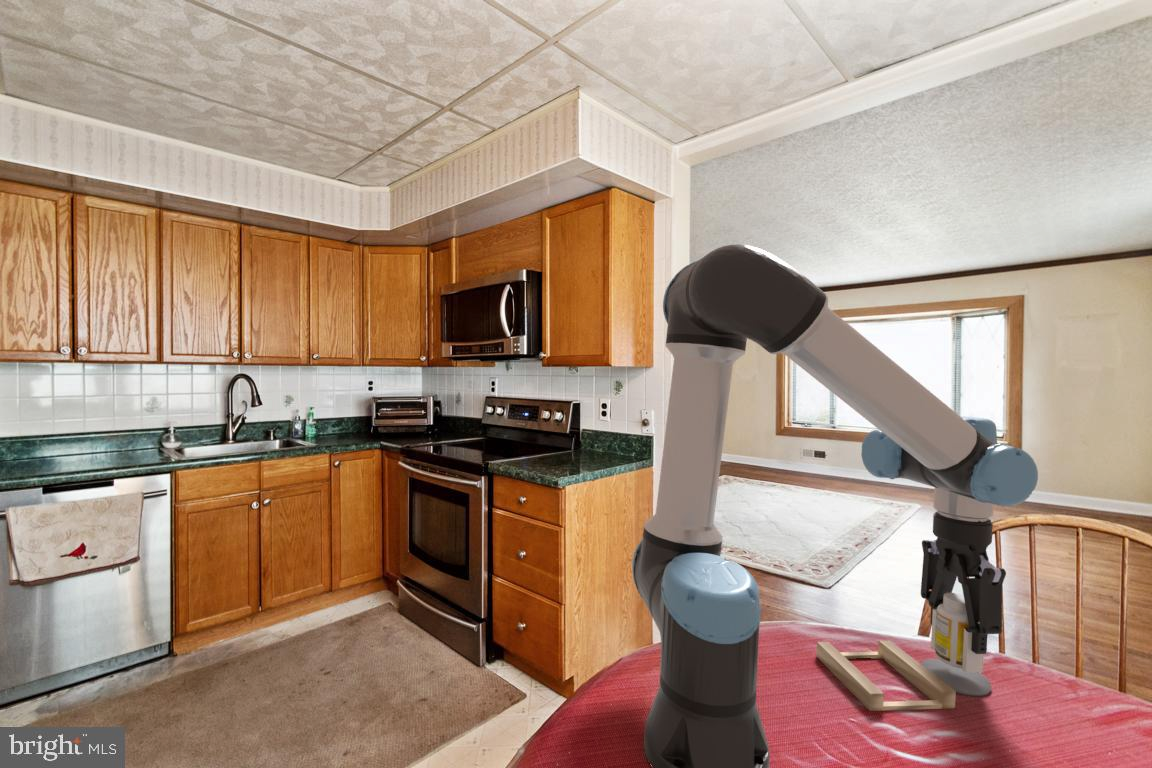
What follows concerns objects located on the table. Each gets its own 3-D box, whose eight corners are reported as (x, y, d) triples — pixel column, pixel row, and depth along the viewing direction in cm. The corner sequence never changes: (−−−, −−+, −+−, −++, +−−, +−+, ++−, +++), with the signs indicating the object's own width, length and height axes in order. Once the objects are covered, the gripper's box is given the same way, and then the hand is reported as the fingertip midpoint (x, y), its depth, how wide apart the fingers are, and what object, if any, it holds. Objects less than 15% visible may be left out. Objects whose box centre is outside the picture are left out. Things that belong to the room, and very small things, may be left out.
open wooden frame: (869, 711, 74) (870, 693, 74) (816, 656, 88) (817, 641, 88) (954, 708, 75) (955, 691, 75) (889, 654, 89) (889, 640, 89)
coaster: (950, 696, 78) (951, 693, 78) (907, 662, 87) (907, 659, 87) (1006, 695, 79) (1006, 691, 79) (958, 661, 88) (958, 658, 88)
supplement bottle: (982, 662, 82) (985, 599, 82) (972, 675, 79) (975, 609, 78) (940, 647, 87) (943, 587, 86) (929, 659, 83) (932, 596, 83)
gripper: (1041, 533, 73) (1033, 695, 74) (939, 499, 91) (933, 629, 92) (992, 533, 72) (984, 697, 73) (898, 499, 91) (893, 630, 92)
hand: (955, 659), depth 83 cm, fingers closed on supplement bottle, 6 cm apart
